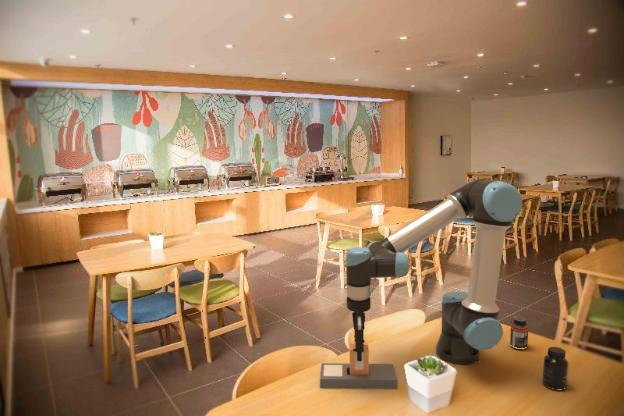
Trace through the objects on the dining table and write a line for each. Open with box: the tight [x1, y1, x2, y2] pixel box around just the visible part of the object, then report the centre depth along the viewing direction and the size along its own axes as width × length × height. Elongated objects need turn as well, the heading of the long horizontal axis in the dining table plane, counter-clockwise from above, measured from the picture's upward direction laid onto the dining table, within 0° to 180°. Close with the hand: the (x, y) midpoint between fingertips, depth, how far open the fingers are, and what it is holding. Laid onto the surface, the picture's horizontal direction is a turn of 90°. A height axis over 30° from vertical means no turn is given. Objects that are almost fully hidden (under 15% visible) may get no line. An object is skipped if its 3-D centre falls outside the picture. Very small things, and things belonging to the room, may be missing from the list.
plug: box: [348, 344, 370, 375], centre depth 143 cm, size 6×4×11 cm, turn 86°
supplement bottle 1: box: [509, 316, 529, 348], centre depth 165 cm, size 6×6×11 cm
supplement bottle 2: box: [542, 346, 569, 389], centre depth 139 cm, size 7×7×12 cm
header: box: [319, 362, 398, 390], centre depth 144 cm, size 24×10×4 cm, turn 86°
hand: (359, 365), depth 144 cm, fingers closed on plug, 3 cm apart
